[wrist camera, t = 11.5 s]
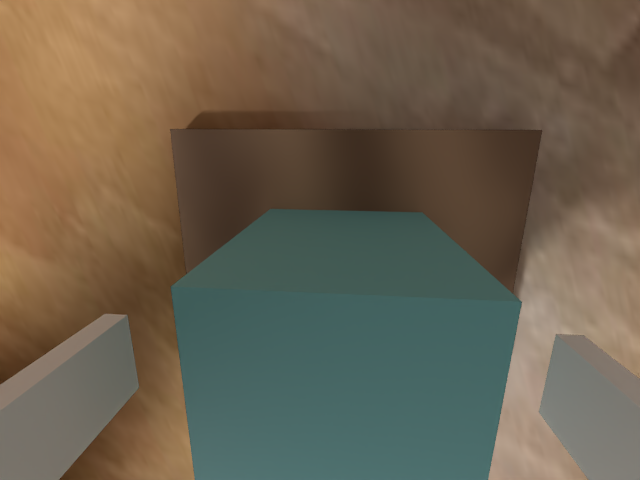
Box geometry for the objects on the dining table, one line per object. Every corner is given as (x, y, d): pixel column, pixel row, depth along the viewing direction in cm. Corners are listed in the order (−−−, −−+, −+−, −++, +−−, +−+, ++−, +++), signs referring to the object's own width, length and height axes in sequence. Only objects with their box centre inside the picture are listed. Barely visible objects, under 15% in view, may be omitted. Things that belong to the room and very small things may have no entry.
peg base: (207, 375, 20) (131, 496, 13) (183, 130, 16) (57, 117, 9) (482, 393, 19) (561, 538, 12) (527, 131, 15) (683, 117, 8)
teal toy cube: (274, 339, 17) (201, 529, 9) (270, 208, 16) (170, 286, 7) (409, 347, 17) (473, 557, 8) (422, 212, 15) (521, 302, 6)
